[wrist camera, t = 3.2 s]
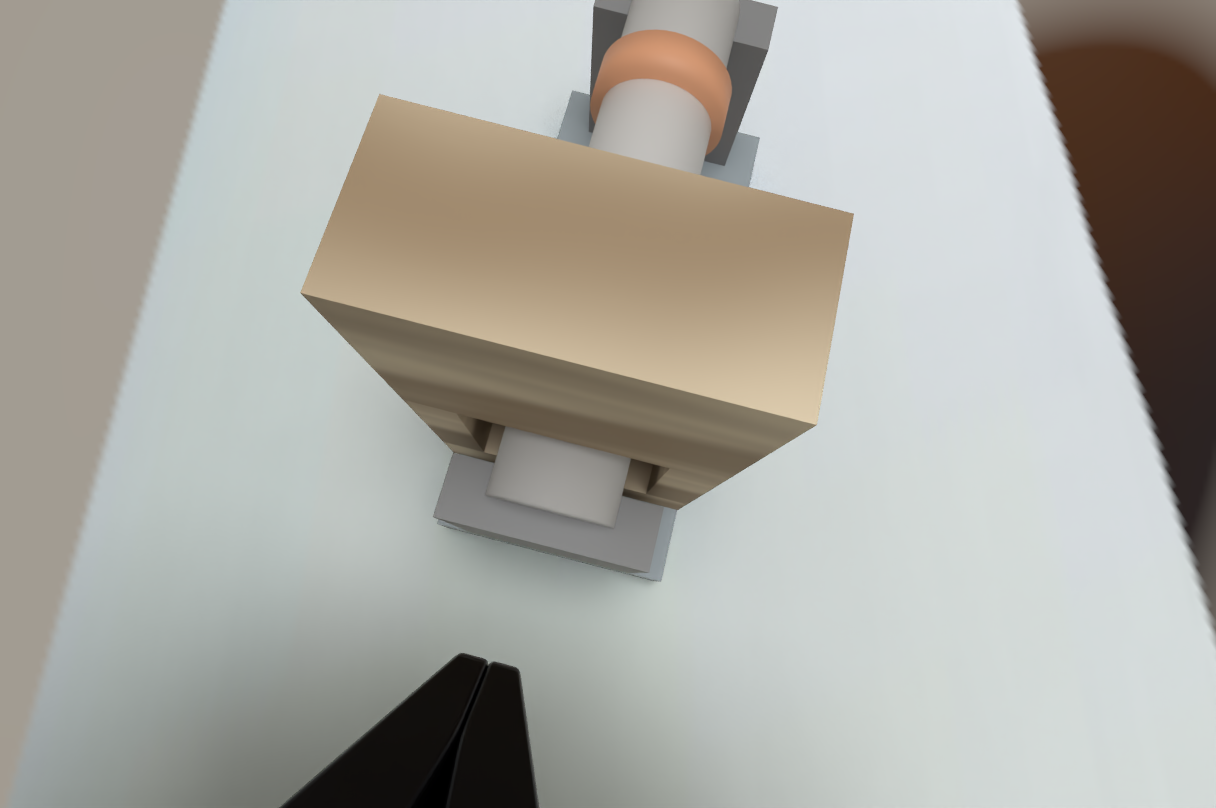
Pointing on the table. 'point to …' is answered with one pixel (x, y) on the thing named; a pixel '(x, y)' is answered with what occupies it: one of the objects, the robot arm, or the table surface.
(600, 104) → the pipe stand
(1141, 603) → the table surface
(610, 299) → the sleeve
